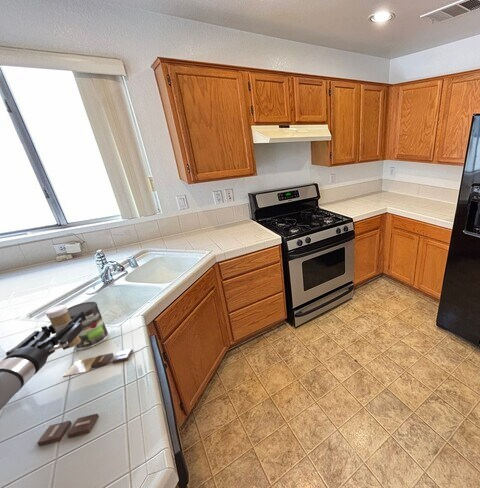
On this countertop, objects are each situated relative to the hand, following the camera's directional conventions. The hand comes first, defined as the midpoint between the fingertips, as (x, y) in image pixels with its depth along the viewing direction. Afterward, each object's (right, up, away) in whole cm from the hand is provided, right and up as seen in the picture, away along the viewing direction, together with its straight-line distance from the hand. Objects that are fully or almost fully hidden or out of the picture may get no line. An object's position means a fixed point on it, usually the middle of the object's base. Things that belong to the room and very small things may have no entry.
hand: (74, 316), depth 87 cm
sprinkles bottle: (+2, -8, -2) cm, 9 cm away
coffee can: (-6, -13, +14) cm, 20 cm away
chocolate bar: (+7, -16, +2) cm, 18 cm away
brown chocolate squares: (+19, -23, -20) cm, 36 cm away
